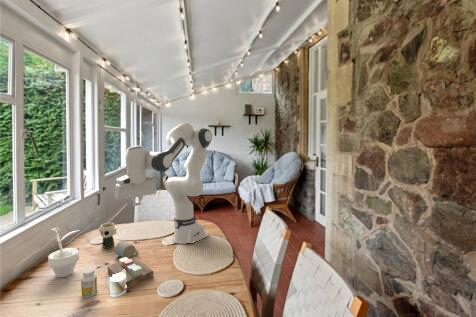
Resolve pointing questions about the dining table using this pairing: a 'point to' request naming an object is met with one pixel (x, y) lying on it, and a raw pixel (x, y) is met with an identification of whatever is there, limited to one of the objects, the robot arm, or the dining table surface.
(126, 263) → the key brick
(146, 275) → the key panel
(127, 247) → the ceramic mug
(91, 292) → the supplement bottle
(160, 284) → the dining table surface
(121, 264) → the key ivory
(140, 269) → the key sage
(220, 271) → the dining table surface
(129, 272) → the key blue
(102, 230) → the character mug
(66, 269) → the potted plant
